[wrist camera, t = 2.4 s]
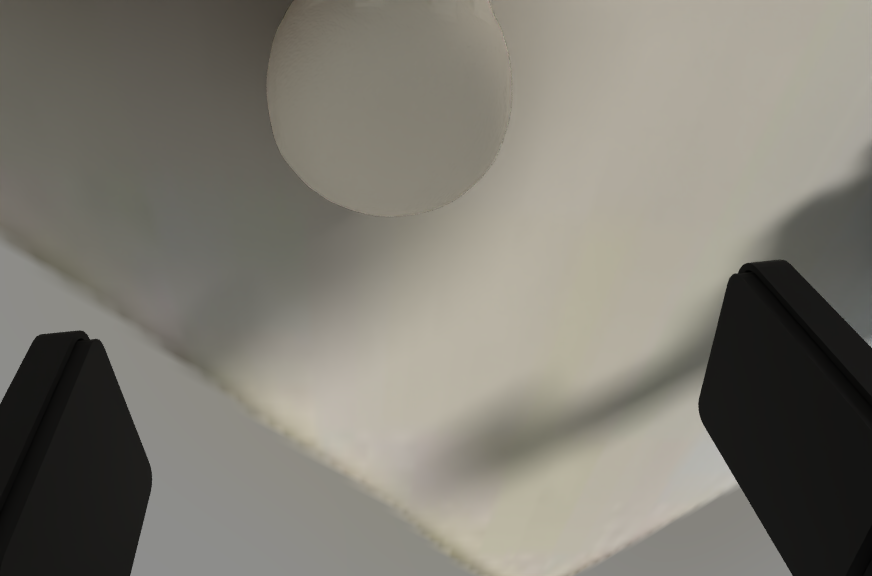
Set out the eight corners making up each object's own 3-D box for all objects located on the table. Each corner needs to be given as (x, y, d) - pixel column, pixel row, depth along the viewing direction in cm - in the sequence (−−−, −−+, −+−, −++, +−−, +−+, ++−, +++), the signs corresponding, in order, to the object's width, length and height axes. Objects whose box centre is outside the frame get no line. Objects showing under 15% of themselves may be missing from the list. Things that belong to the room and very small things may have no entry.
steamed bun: (509, -67, 21) (570, -12, 16) (470, 159, 25) (508, 264, 20) (274, -96, 20) (253, -47, 15) (274, 145, 24) (258, 254, 19)
